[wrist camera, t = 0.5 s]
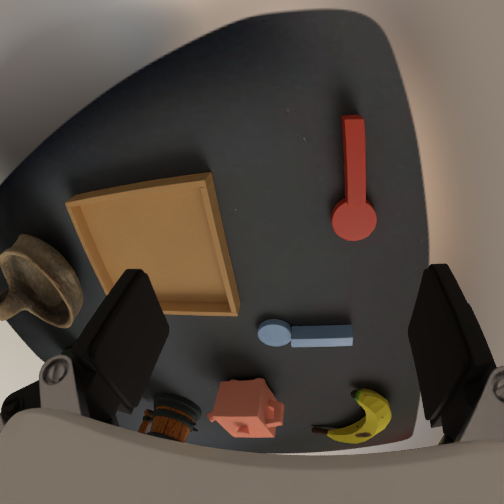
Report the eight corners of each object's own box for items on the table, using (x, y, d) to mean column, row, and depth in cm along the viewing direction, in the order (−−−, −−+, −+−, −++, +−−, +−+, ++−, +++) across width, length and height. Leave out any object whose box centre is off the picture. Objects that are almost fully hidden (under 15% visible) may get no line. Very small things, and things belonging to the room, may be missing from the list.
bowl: (114, 299, 37) (78, 355, 29) (46, 306, 43) (15, 348, 34) (60, 209, 31) (6, 258, 22) (3, 239, 36) (-37, 277, 28)
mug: (188, 394, 49) (169, 450, 39) (211, 419, 54) (197, 469, 44) (133, 389, 53) (112, 437, 43) (158, 414, 58) (142, 458, 48)
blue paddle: (352, 316, 33) (354, 329, 31) (350, 339, 35) (351, 352, 33) (256, 318, 35) (253, 331, 33) (260, 340, 37) (258, 353, 35)
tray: (75, 194, 29) (64, 202, 27) (211, 171, 26) (204, 179, 24) (121, 300, 37) (114, 311, 36) (240, 303, 34) (237, 316, 32)
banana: (390, 403, 35) (290, 403, 42) (389, 447, 43) (312, 446, 49) (392, 377, 39) (297, 380, 45) (391, 426, 46) (317, 427, 53)
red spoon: (324, 115, 22) (327, 119, 20) (374, 114, 21) (380, 118, 19) (331, 236, 27) (333, 248, 26) (373, 235, 27) (377, 247, 25)
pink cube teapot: (203, 376, 44) (189, 422, 38) (278, 372, 40) (271, 423, 34) (224, 400, 48) (213, 442, 41) (292, 397, 44) (287, 444, 38)
